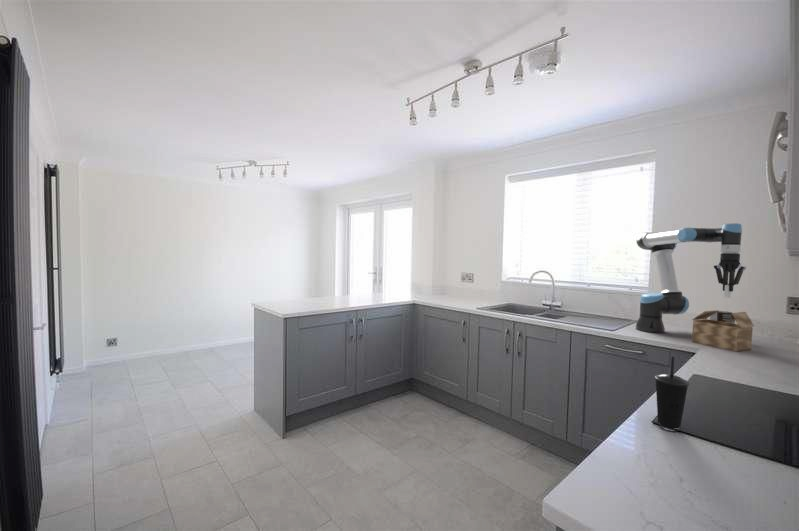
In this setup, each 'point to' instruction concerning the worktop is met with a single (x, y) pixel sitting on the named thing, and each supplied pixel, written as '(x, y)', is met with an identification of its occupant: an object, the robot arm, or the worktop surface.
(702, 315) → the flap
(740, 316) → the flap
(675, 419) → the drinking cup
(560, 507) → the worktop surface
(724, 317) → the coffee box
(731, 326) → the carton
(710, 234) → the robot arm
